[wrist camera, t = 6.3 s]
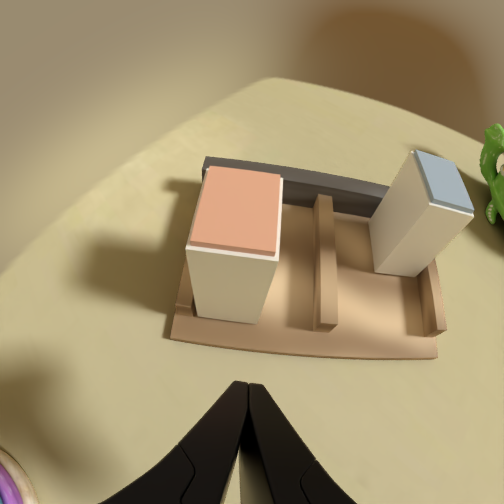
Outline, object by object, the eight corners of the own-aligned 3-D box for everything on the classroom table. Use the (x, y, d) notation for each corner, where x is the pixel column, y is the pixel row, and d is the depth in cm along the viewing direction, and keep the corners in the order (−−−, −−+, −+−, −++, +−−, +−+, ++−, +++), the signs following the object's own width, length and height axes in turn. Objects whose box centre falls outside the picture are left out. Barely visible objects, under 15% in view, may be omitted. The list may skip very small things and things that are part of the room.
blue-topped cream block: (414, 277, 24) (477, 213, 16) (374, 272, 24) (432, 200, 16) (405, 229, 26) (455, 161, 19) (368, 222, 26) (412, 146, 18)
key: (256, 324, 21) (280, 256, 13) (197, 316, 20) (184, 244, 13) (262, 260, 23) (284, 172, 16) (209, 253, 23) (206, 162, 15)
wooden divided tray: (433, 359, 21) (459, 347, 18) (171, 339, 20) (162, 324, 17) (411, 217, 28) (427, 195, 25) (206, 184, 28) (206, 155, 25)
